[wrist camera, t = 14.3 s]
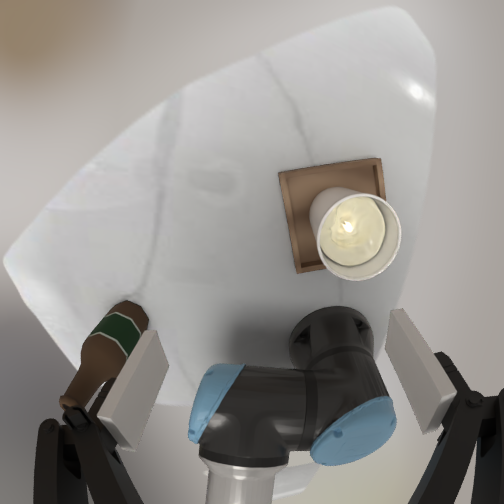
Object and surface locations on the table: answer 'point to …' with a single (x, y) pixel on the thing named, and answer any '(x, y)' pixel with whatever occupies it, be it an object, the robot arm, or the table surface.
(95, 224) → the table surface
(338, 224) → the candle holder
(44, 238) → the table surface
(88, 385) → the beer bottle
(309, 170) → the tray
